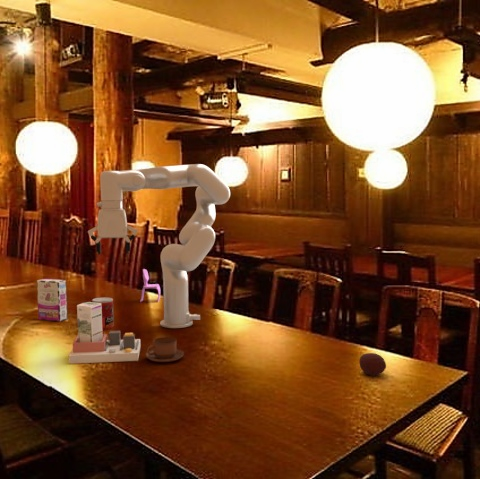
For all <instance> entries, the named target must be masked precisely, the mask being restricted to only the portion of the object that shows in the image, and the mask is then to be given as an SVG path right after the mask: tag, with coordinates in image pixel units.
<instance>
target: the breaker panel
mask: <svg viewBox="0 0 480 479" xmlns="http://www.w3.org/2000/svg"><path fill="white" fill-rule="evenodd" d="M140 352H141V339H140V338H135V348H134V349H131V348H127V349H124V345H123V339H121V343H120V345H109V339H108V334H107V333H106V334H105V333H104V334H103V339H102V341H101V342H79V339H78V334H77V335H76V337H75V338H74V340H73V342H72V350H71V351H70V354H69V355H68V362H69V363H68V364H91V363H113V362H114V363H115V362H116V363H117V362H139V356H140Z"/></svg>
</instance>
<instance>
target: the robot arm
mask: <svg viewBox="0 0 480 479" xmlns="http://www.w3.org/2000/svg"><path fill="white" fill-rule="evenodd" d="M99 181H100V201H99V202H96V206H97V207H100V209H98V214H97V215H98V216H97V226H95V227H92V228H91V229H89V230H88V231H87V233H88V235H89V237H90V239H91V240H92V241H94V243H95V249H96V252H97V254H98V255H101V254H102V242H101V240H102V239H117V238H118V239H121V238H123V239H124V240H125V254H126V255H128V254H129V252H131V242H132V241H133V240H134V238H135V237H136V235H137V233H138V229H136V228H134V227H132V226H130V225H128V220H127V214H126V210H125V209H124V202H123V201H124V200H123V199H124V198H123V197H124V195H123V194H124V193H123V192H138V191H140V190H147V189H148V190H150V189H151V190H168V189H176V188H177V189H179V188H186V187H187V188H188V187H196V188H195V189H196V190H195V192H194V193H195V194H194V196H195V201H196V210H195V211H194V213H193V214H192V216H191V217H190V219H188V221H187V222H186V224H185V225H184V226H183V227H182V229H181V230H180V233H179V235H178V240H179V242H180V244H177V243H171V244H167V245H165V247H163V249H162V251H161V252H160V263H161V271H162V280H163V286H162V288H163V319H162V320H160V326H161V327H163V328H166V329H184V328H187V327H191V326H192V325H193V324H194V323H193V320H196V321H198V320H199V321H200V320H201V314H197V313H194V314H192V313H190V311H189V276H188V274H187V273H188V272H191V271H194V270H195V269H197V267H199V265H200V264H201V263H202V261H204V259H205V257H206V256H207V255H208V253H209V252H210V251H211V249H213V246H214V244H215V241H216V232H215V231H214V229H213V228H212V226H213V224H214V222H215V220H216V215H217V214H216V206H215V205H223V204H226V203H227V202H228V201H229V199H230V197H231V190H230V187H229V186H228V185H227V183H226V182H224V180H223V179H221V178H220V176H219V175H218V174H216V173H215V172H214V171H213V170H212V169H211V168H210V167H209V166H207V165H205V164H201V163H195V164H194V163H193V164H180V165H178V164H177V165H163V166H155V167H149V168H141V169H126V170H125V169H124V170H104V171H101V172H100V176H99ZM128 230H129V231H131V232H132V233H131V236H128ZM96 231H97V236H95V234H94V232H96Z"/></svg>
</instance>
